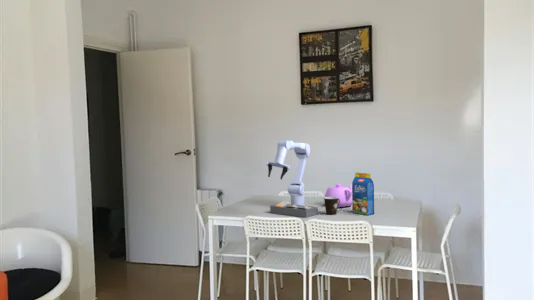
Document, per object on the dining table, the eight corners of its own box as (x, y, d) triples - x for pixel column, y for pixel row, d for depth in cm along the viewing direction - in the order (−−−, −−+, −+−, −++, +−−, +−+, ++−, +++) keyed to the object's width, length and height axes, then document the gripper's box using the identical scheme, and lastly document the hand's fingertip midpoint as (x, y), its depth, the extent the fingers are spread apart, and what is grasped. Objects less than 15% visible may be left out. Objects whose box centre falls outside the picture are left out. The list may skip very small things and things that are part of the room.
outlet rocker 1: (283, 202, 307) (282, 200, 307) (290, 203, 303) (289, 201, 303) (274, 208, 300) (274, 206, 300) (281, 208, 297) (281, 206, 297)
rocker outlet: (305, 208, 295) (305, 206, 296) (313, 209, 292) (313, 207, 292) (297, 207, 289) (297, 205, 289) (304, 208, 285) (305, 206, 285)
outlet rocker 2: (294, 207, 301) (294, 205, 301) (301, 208, 298) (301, 206, 298) (285, 206, 294) (285, 203, 295) (292, 206, 291) (293, 204, 291)
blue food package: (367, 215, 284) (367, 174, 283) (352, 213, 293) (351, 172, 292) (374, 214, 288) (373, 173, 286) (358, 211, 297) (358, 171, 296)
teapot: (342, 210, 303) (341, 186, 302) (320, 205, 321) (320, 183, 320) (367, 206, 316) (367, 183, 315) (345, 202, 333) (345, 180, 333)
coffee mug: (327, 215, 287) (327, 199, 286) (322, 213, 295) (321, 197, 295) (345, 214, 290) (345, 198, 290) (339, 211, 298) (339, 196, 298)
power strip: (282, 209, 310) (281, 203, 310) (317, 214, 292) (317, 207, 292) (270, 212, 301) (270, 205, 300) (306, 217, 283) (306, 210, 282)
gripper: (268, 152, 293) (262, 172, 287) (291, 157, 290) (286, 177, 284) (269, 157, 299) (264, 177, 293) (291, 162, 296) (286, 181, 290)
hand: (274, 177), depth 289 cm, fingers open, 7 cm apart
